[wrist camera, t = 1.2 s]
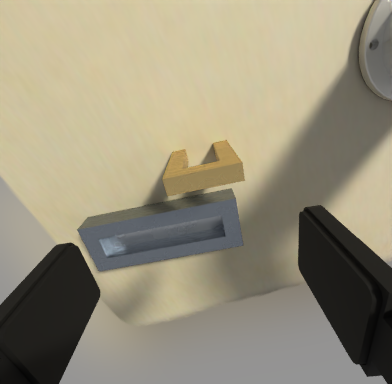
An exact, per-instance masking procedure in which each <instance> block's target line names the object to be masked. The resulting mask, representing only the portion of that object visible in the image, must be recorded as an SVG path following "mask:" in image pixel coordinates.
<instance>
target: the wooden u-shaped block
mask: <svg viewBox="0 0 392 384" xmlns="http://www.w3.org/2000/svg"><path fill="white" fill-rule="evenodd" d="M213 145H214V151H215V156H216V159H217V162H212V163H208V164H203V165H198V166H194V167H189V168H188V158H187V154H186V150H185V149H184V150H179V151H175V152H172V154H171V157H170V160H169V162H168V165H167V168H166V170H165V173H164V176H163V178H162V180H163V183H164V187H165V190H166V193H167V196H171V195H176V194H181V193H186V192H191V191H196V190H201V189H206V188H211V187H215V186H220V185H225V184H230V183H235V182H240V181H245V179H244V172H243V164H242V161H241V160H240V158H239V157H238V156H237V154H236V153H235V151H234V150H233V149H232V147H231V146H230V145H229V143H228V142H227V140H225V141H220V142H216V143H213Z"/></svg>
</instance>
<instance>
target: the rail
mask: <svg viewBox="0 0 392 384" xmlns="http://www.w3.org/2000/svg"><path fill="white" fill-rule="evenodd" d="M77 231H78V232H79V234H80V236H81V238H82V240H83V242H84V244H85V246H86V247H87V249H88V251H89V253H90V255H91V257H92V259H93V261H94V263H95V264H96V266H97V268H98V270H99V271H104V270H110V269H115V268H121V267H126V266H132V265H137V264H143V263H149V262H154V261H160V260H165V259H171V258H176V257H182V256H188V255H193V254H199V253H204V252H210V251H215V250H221V249H226V248H232V247H238V246H243V241H242V235H241V228H240V222H239V216H238V209H237V203H236V198H235V195H234V193H233V190H232V188H231V189H226V190H221V191H216V192H211V193H206V194H201V195H196V196H191V197H186V198H182V199H177V200H172V201H167V202H162V203H157V204H152V205H147V206H142V207H137V208H132V209H127V210H122V211H117V212H112V213H107V214H102V215H97V216H92V217H88V218H87V219H86V220H85V221H84V222H83V224H82V225H81V226H80V227H79V228H78V229H77Z"/></svg>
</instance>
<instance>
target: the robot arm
mask: <svg viewBox="0 0 392 384" xmlns="http://www.w3.org/2000/svg"><path fill="white" fill-rule="evenodd" d="M359 65H360V69H361V73H362V76H363V78H364V80H365V82H366V84H367V86H368V87H369V88H370V89H371V90H372V91H373V92H374V93H375V94H377V95H378V96H380V97H381V98H383V99H387V100H390V101H392V0H375V2H374V4H373V5H372V7H371V9H370V11H369V14H368V16H367V18H366V21H365V23H364V27H363V30H362V34H361V37H360V45H359ZM298 266H299V270H300V272H301V274H302V276H303V277H304V279H305V281H306V283H307V284H308V286H309V288H310V289H311V291H312V293H313V295H314V296H315V298H316V300H317V302H318V303H319V305H320V307H321V308H322V310H323V312H324V314H325V315H326V317H327V319H328V321H329V322H330V324H331V326H332V327H333V329H334V331H335V332H336V334H337V336H338V338H339V339H340V341H341V343H342V345H343V347H344V348H345V350H346V352H347V353H348V355H349V357H350V358H351V360H352V361H353V362H354V363H355V364H360V366H361V367H362V369H363V371H364V372H365V374H366V375H367V377H368V376H380V375H382V376H383V377H384V379H385V381H386V382H387V384H392V268H391V267H390V266H389V265H387V263H385V262H384V261H383V260H382V259H381V258H380V257H379V256H378V255H377V254H375V253H374V252H373V251H372V250H371V249H370V248H369V247H368V246H367V245H365V244H364V243H363V242H362V241H361V240H360V239H359V238H357V237H356V236H355V235H354V234H353V233H352V232H350V231H349V230H348V229H347V228H346V227H345V226H344V225H343V224H342V223H340V222H339V221H338V220H337V219H336V218H335V217H334V216H333V215H332V214H330V213H329V212H328V211H327V210H326V209H325V208H324V207H323V206H321V205H318V206H311V207H305V208H304V210H303V212H300V214H299V249H298ZM99 298H100V289H99V287H98V285H97V283H96V281H95V279H94V277H93V275H92V273H91V271H90V269H89V267H88V265H87V263H86V261H85V259H84V257H83V255H82V253H81V251H80V249H79V248H78V246H76V245H74V244H73V243H65V244H58V245H56V246H55V247H54V248H53V249H52V250H51V251H50V252H49V253H48V254H47V255H46V256H45V257H44V259H43V260H42V261H41V262H40V263H39V264H38V265H37V266H36V267H35V268H34V269H33V270H32V271H31V272H30V274H29V275H28V276H27V277H26V278H25V279H24V280H23V281H22V282H21V283H20V284H19V285H18V286H17V288H16V289H15V290H14V291H13V292H12V293H11V294H10V295H9V296H8V297H7V298H6V299H5V300H4V302H3V303H2V304H1V305H0V384H59V382H60V380H61V378H62V376H63V374H64V372H65V370H66V367H67V365H68V363H69V361H70V359H71V357H72V355H73V353H74V351H75V349H76V346H77V344H78V342H79V340H80V338H81V336H82V334H83V332H84V330H85V327H86V325H87V323H88V321H89V319H90V317H91V315H92V313H93V311H94V308H95V307H96V304H97V302H98V300H99Z"/></svg>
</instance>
